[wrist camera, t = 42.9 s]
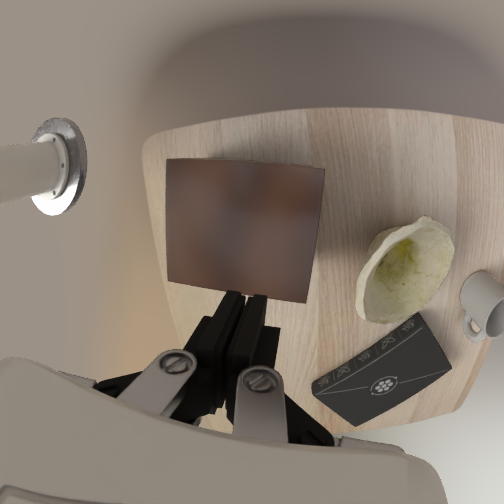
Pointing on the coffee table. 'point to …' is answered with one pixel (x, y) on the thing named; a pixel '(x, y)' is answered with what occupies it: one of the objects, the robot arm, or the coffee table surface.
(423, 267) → the bowl
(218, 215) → the lid
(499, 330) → the cup
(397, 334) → the book
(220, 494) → the robot arm
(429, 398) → the coffee table surface
